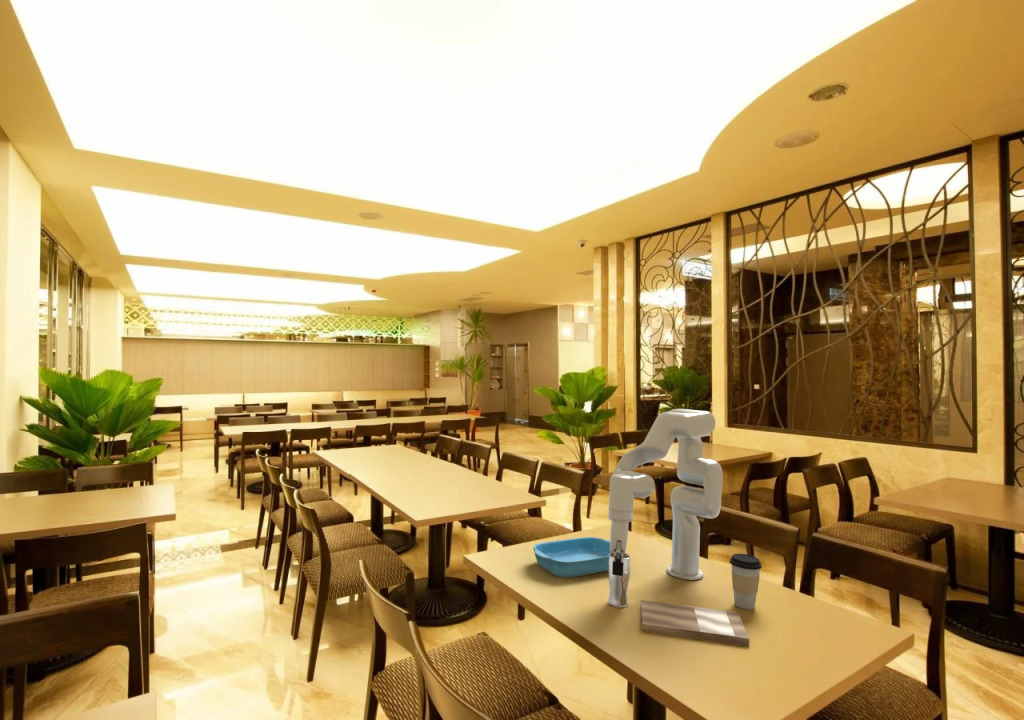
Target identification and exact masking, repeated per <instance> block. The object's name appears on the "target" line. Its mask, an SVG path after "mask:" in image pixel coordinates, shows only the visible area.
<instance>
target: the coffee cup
mask: <svg viewBox="0 0 1024 720" xmlns="http://www.w3.org/2000/svg"><path fill="white" fill-rule="evenodd" d="M729 564H730V565H731V581H732V582H731V583H732V589H733V598H734V599H733V601H734V605H735V606H736V607H739V608H740V609H743V610H753V609H755V608H756V602H757V601H756V600H757V594H758V589H759V583H760V571H761V569H763V566H762V563H761V562H760V558H758V557H757V556H754V555H752V554H748V553H747V554H746V553H734V554H732V556H731V557H730V558H729Z"/></svg>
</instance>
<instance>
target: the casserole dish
mask: <svg viewBox="0 0 1024 720" xmlns="http://www.w3.org/2000/svg"><path fill="white" fill-rule="evenodd" d="M609 551H610V539H605V538H602V537H595V536H585V537H583V536H582V537H575V538H566V539H561V540H552V541H545V542H539V543H537V544H534V545H533V553H534V557H535V559H536V562H537V563H538V564H539V565H540V567H541V568H542V569H545V570H546V571H548V572H549V573H551V574H552V575H554V576H556V577H559V578H574V577H575V576H576V577H581V575H582V576H587V575H586V574H588V575H592V574H593V573H594V574H598V572H600V573H604V572H603V571H605V572H608V559H609V553H610V552H609ZM625 553H626V554H627V551H626V552H625Z"/></svg>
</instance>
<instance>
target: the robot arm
mask: <svg viewBox="0 0 1024 720" xmlns="http://www.w3.org/2000/svg"><path fill="white" fill-rule="evenodd" d="M715 428H716V418H715V416H714V415H713V414H712V412H709V411H707V410H697V409H688V408H687V409H686V408H673V409H670V410H669V411H663V412H661V413H660V414H658V416H656V417H655V420H654V422H653V424H652V426H651V427H650V429H649V431H648V433H647V435H646V437H645V439H644V441H643V442H642V443H641V444H639V445H637V446H636V447H634V448H633V449H631V450H630V451H628V452H626V453H625V454H624V455H622V457H621V458H620V459H619V461H618V462H617V464H616V466H615V468H614V469H613V472H612V475H611V476H610V478H609V493H608V494H609V495H608V496H609V497H608V513H607V514H608V515H607V517H608V519H609V520H610V521H611V522H610V533H609V535H610V536H609V540H610V551H609V552H610V553H612V552H614V561H613V568H612V574H613V575H618V576H623V564H624V562H623V555H624V554H625V552H626V553H627V544H628V537H629V535H628V534H629V523H631V522H633V520H634V519H633V518H634V517H633V516H634V498H643V499H644V498H648V497H650V496H651V495H652V494H653V493H654V491H655V490H656V489H655V488H656V483H655V480H654V478H653V477H652V476H651V475H649V474H646V473H642V472H638V471H634V470H635V469H636V468H638V467H640V466H641V465H644V464H647V463H652V462H655V461H659V460H662V459H664V458H666V456H667V455H668V453H669V451H670V448H671V447H672V444H673V443H674V441H675V439H677V448H678V449H677V464H676V475H677V478H678V479H679V480H680V481H682V482H684V483H688V484H694V485H697V486H698V485H699V486H703V489H702V488H698V487H695V486H689V485H678V486H676V487H673V489H672V490H671V492H670V504H671V513H672V532H671V533H672V535H671V536H672V539H671V564H669V565H668V566H667V567H666V572H667V573H668V574H669V575H670V576H672V577H675V578H677V579H681V580H688V581H696V580H697V579H698V580H701V579H703V578H704V572H703V570H701V569H700V545H701V544H700V542H701V541H700V540H701V538H700V537H701V525H700V524H701V523H700V522H699V520H698V517H702V518H705V519H715V518H717V517H718V516H719V514H720V513H721V512H720V511H721V508H722V495H723V482H724V481H723V478H724V476H723V475H724V473H723V468H722V466H721V464H720V463H719V462H718V461H716V460H713V459H708V458H703V449H704V447H703V442H702V439H701V438H702V437H703V438H704V437H707V436H709V435H711V434H712V433H713V432H714V430H715Z"/></svg>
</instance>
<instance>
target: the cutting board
mask: <svg viewBox="0 0 1024 720" xmlns="http://www.w3.org/2000/svg"><path fill="white" fill-rule="evenodd" d="M640 614H641V618H640V619H641V620H642V621H641V632H646V631H648V632H647V633H653V632H655V633H654V634H662V635H668V636H675V637H681V638H682V637H683V638H688V639H696V640H697V639H698V640H704V641H711V642H716V641H717V643H725V644H730V643H731V644H730V645H737V644H740V645H739V646H744V645H747V646H746V647H749V646H750V637H749V635H748V633H747V630H746V628H745V626H744V624H743V623H744V622H742V619H741V617H740V614H739V612H736V611H729V610H722V609H721V610H720V609H713V608H706V607H705V608H704V607H698V606H692V605H691V606H690V605H682V604H674V603H666V602H659V601H651V600H644V599H641V600H640Z"/></svg>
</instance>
